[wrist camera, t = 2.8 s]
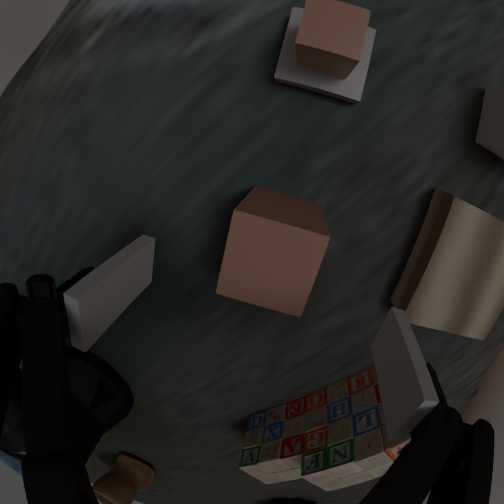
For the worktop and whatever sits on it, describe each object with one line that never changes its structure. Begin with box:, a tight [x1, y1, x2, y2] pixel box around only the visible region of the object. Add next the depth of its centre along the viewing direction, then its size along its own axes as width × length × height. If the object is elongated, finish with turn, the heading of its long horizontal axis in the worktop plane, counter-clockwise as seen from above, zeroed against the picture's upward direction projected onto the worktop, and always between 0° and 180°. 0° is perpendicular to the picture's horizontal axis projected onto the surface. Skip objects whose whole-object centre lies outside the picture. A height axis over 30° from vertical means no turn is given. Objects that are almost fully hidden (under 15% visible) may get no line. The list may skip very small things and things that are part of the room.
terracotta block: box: [216, 186, 330, 317], centre depth 23 cm, size 6×6×9 cm
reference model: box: [274, 0, 376, 104], centre depth 17 cm, size 7×7×8 cm
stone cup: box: [92, 454, 154, 504], centre depth 47 cm, size 15×12×15 cm
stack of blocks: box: [239, 366, 411, 491], centre depth 29 cm, size 21×6×12 cm, turn 127°
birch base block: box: [391, 188, 504, 340], centre depth 23 cm, size 12×12×4 cm
